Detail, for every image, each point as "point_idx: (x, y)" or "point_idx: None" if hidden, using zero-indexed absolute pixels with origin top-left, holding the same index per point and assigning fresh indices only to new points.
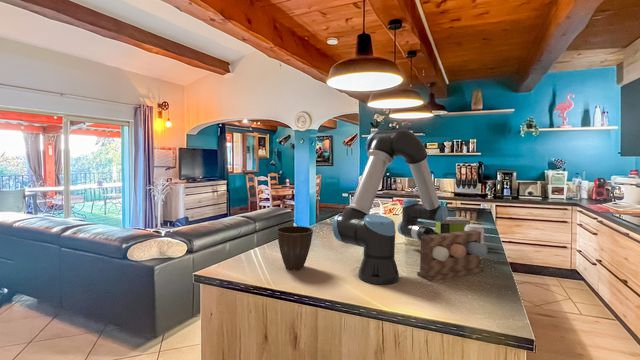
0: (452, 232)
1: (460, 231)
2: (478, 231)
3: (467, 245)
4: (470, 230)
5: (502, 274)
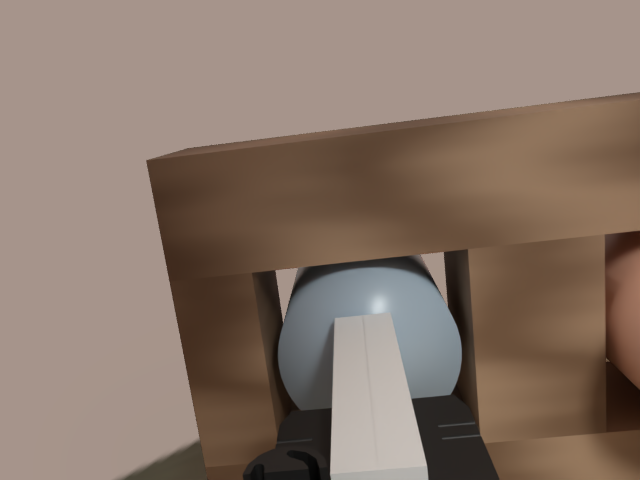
0: (621, 101)
1: (432, 124)
2: (187, 149)
3: (428, 272)
4: (211, 152)
5: (196, 463)
